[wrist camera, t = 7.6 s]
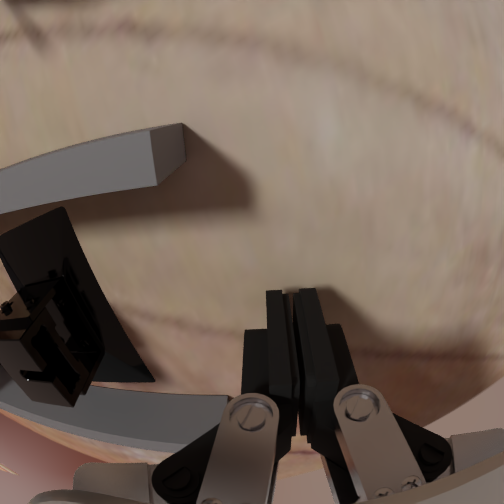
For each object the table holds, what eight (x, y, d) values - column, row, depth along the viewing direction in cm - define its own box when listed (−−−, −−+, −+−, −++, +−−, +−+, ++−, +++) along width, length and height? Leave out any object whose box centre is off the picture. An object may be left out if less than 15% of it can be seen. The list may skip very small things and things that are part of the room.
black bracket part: (181, 388, 15) (166, 462, 11) (81, 387, 15) (57, 444, 11) (73, 157, 9) (-15, 199, 5) (-23, 210, 10) (-84, 254, 6)
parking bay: (182, 122, 8) (105, 143, 4) (230, 407, 14) (225, 491, 10) (-79, 206, 9) (-129, 242, 4) (-1, 373, 15) (-28, 419, 11)
